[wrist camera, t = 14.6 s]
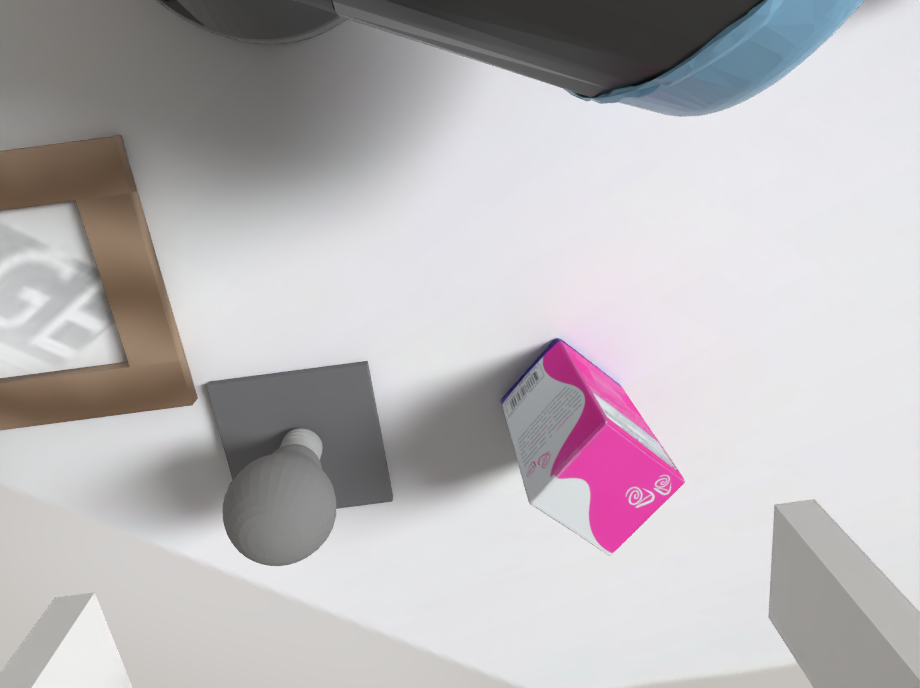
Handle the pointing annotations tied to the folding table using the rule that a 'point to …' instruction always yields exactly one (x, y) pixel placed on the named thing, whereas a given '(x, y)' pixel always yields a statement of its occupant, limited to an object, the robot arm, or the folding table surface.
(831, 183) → the folding table surface
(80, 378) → the wooden picture frame
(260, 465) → the light bulb
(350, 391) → the mat
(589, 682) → the folding table surface
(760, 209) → the folding table surface
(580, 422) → the supplement box
